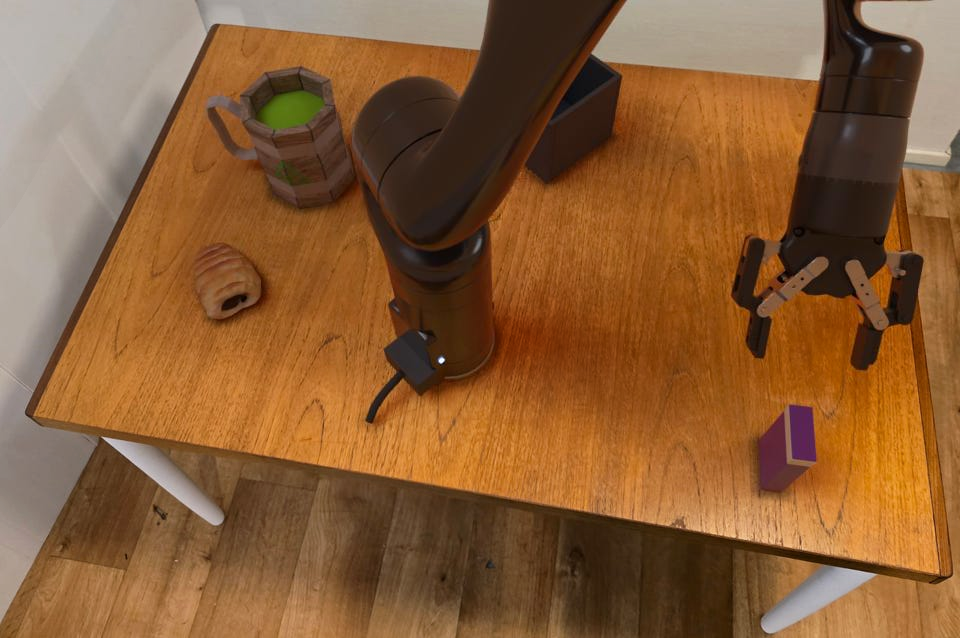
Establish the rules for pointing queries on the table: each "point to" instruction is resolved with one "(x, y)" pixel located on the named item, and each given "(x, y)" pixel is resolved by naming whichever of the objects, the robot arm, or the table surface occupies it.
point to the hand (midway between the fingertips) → (807, 361)
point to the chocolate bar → (787, 448)
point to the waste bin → (578, 120)
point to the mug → (291, 135)
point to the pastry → (224, 280)
